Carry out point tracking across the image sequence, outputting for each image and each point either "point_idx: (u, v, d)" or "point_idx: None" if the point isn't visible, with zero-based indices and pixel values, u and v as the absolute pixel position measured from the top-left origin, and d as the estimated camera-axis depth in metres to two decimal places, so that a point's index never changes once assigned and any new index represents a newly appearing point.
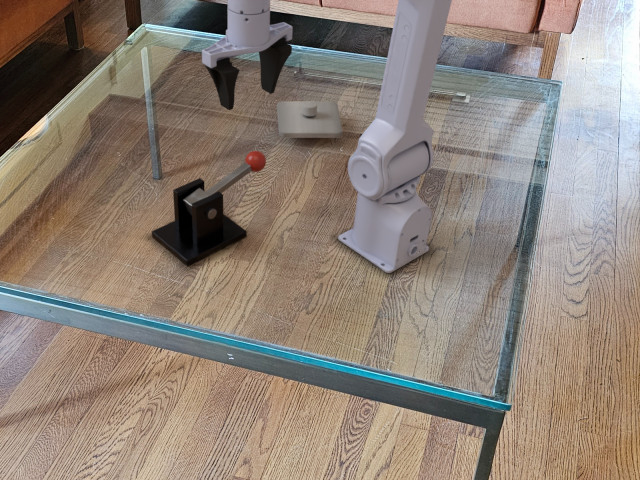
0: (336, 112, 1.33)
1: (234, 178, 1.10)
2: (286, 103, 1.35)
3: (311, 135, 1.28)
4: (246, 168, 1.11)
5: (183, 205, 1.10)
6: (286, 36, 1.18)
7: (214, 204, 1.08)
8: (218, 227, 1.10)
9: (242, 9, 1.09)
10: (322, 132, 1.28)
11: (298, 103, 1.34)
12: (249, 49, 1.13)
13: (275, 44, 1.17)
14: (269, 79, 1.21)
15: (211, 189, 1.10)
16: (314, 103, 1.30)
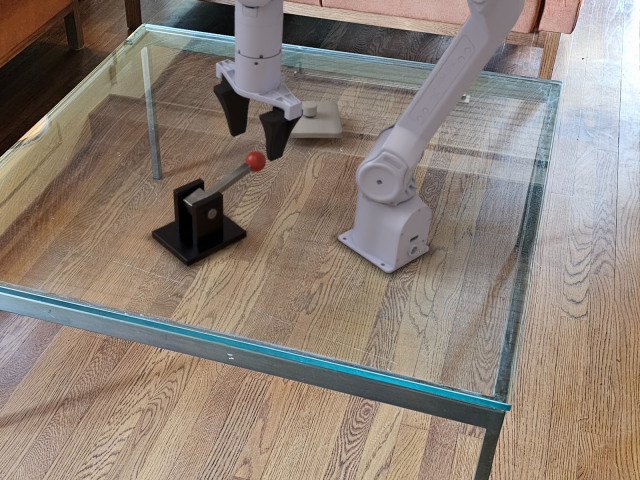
0: (336, 112, 1.33)
1: (234, 178, 1.10)
2: None
3: (311, 135, 1.28)
4: (246, 168, 1.11)
5: (183, 205, 1.10)
6: (284, 112, 1.01)
7: (214, 204, 1.08)
8: (218, 227, 1.10)
9: (262, 53, 0.99)
10: (322, 132, 1.28)
11: None
12: (232, 83, 1.05)
13: (274, 110, 1.03)
14: None
15: (211, 189, 1.10)
16: (314, 103, 1.30)
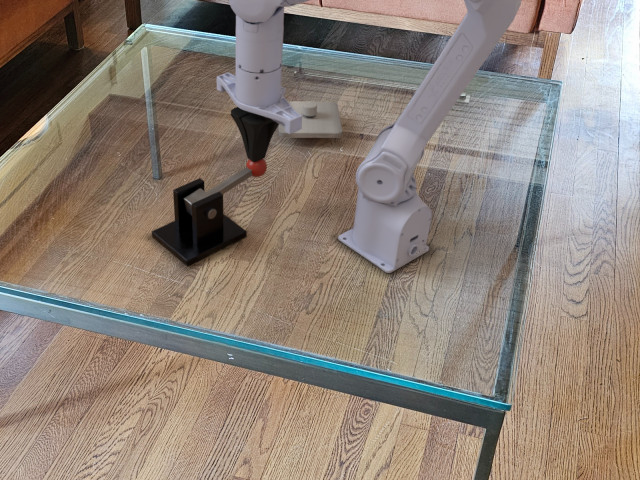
0: (336, 112, 1.33)
1: (235, 181, 1.11)
2: None
3: (311, 135, 1.28)
4: (247, 172, 1.11)
5: (183, 205, 1.10)
6: (285, 125, 1.03)
7: (214, 204, 1.08)
8: (218, 227, 1.10)
9: (262, 68, 1.00)
10: (322, 132, 1.28)
11: (298, 103, 1.34)
12: (233, 97, 1.06)
13: None
14: None
15: (212, 190, 1.10)
16: (314, 103, 1.30)
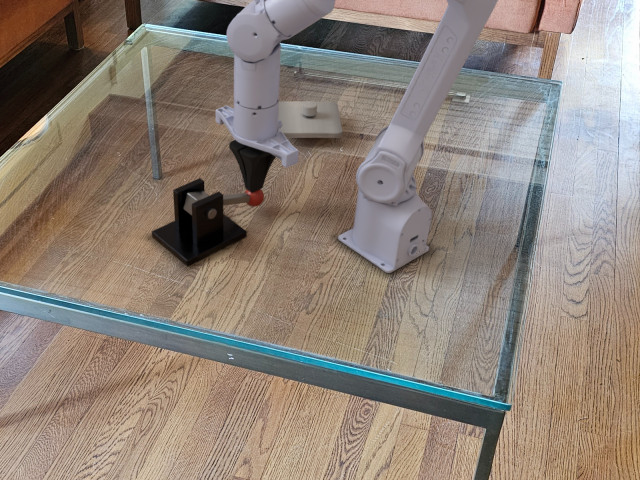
0: (336, 112, 1.33)
1: (235, 199, 1.13)
2: (286, 103, 1.35)
3: (311, 135, 1.28)
4: (246, 196, 1.14)
5: (183, 205, 1.10)
6: (281, 159, 1.06)
7: (214, 204, 1.08)
8: (218, 227, 1.10)
9: (260, 104, 1.03)
10: (322, 132, 1.28)
11: (298, 103, 1.34)
12: (231, 131, 1.09)
13: None
14: None
15: None
16: (314, 103, 1.30)
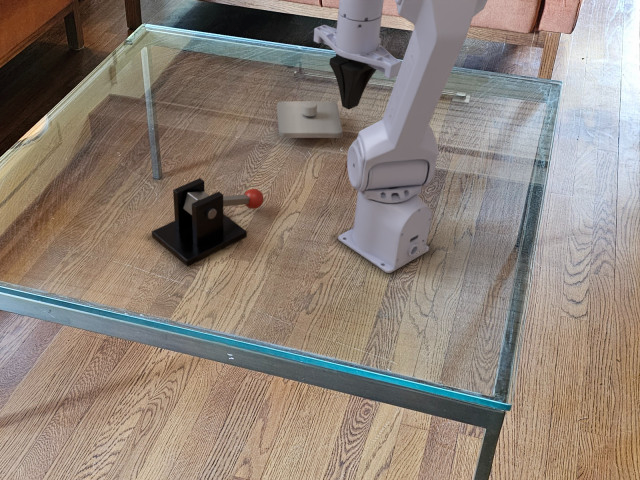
0: (336, 112, 1.33)
1: (234, 200, 1.13)
2: (286, 103, 1.35)
3: (311, 135, 1.28)
4: (246, 198, 1.14)
5: (183, 205, 1.10)
6: (385, 71, 1.10)
7: (214, 204, 1.08)
8: (218, 227, 1.10)
9: (345, 13, 1.08)
10: (322, 132, 1.28)
11: (298, 103, 1.34)
12: (333, 46, 1.13)
13: (354, 60, 1.13)
14: None
15: None
16: (314, 103, 1.30)
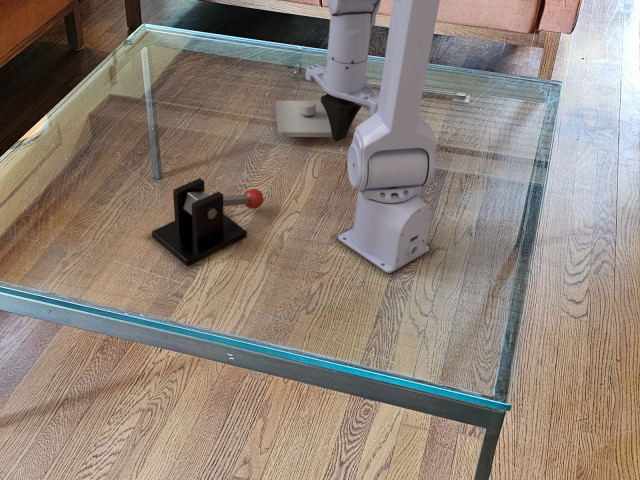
0: None
1: (234, 200, 1.13)
2: (285, 102, 1.35)
3: (310, 134, 1.28)
4: (246, 198, 1.14)
5: (183, 205, 1.10)
6: (370, 109, 1.19)
7: (214, 204, 1.08)
8: (218, 227, 1.10)
9: (333, 56, 1.17)
10: (321, 131, 1.28)
11: (297, 102, 1.35)
12: (323, 85, 1.22)
13: None
14: None
15: None
16: (313, 102, 1.30)
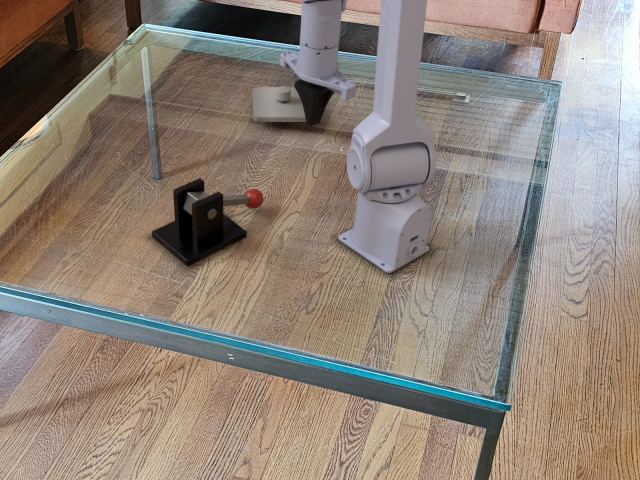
0: None
1: (234, 200, 1.13)
2: (262, 88, 1.38)
3: (284, 119, 1.32)
4: (246, 198, 1.14)
5: (183, 205, 1.10)
6: (341, 94, 1.22)
7: (214, 204, 1.08)
8: (218, 227, 1.10)
9: (307, 42, 1.20)
10: (295, 116, 1.32)
11: (273, 89, 1.38)
12: (296, 70, 1.25)
13: (315, 83, 1.26)
14: None
15: None
16: (288, 88, 1.34)
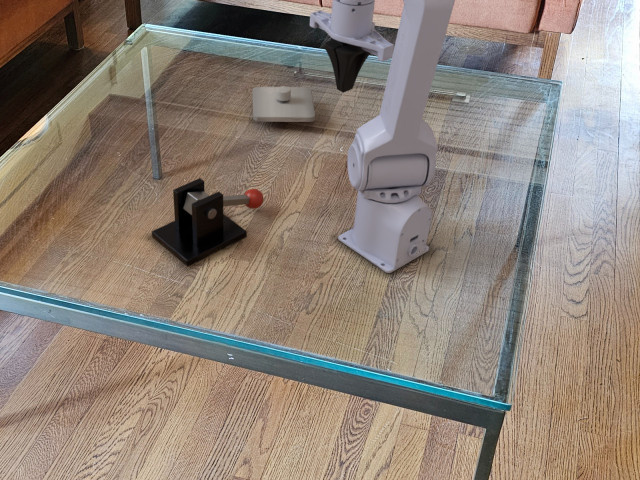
0: (310, 97, 1.36)
1: (234, 200, 1.13)
2: (262, 88, 1.38)
3: (284, 119, 1.32)
4: (246, 198, 1.14)
5: (183, 205, 1.10)
6: (377, 54, 1.13)
7: (214, 204, 1.08)
8: (218, 227, 1.10)
9: None
10: (295, 116, 1.32)
11: (273, 89, 1.38)
12: (328, 30, 1.16)
13: (348, 44, 1.17)
14: None
15: None
16: (288, 88, 1.34)
